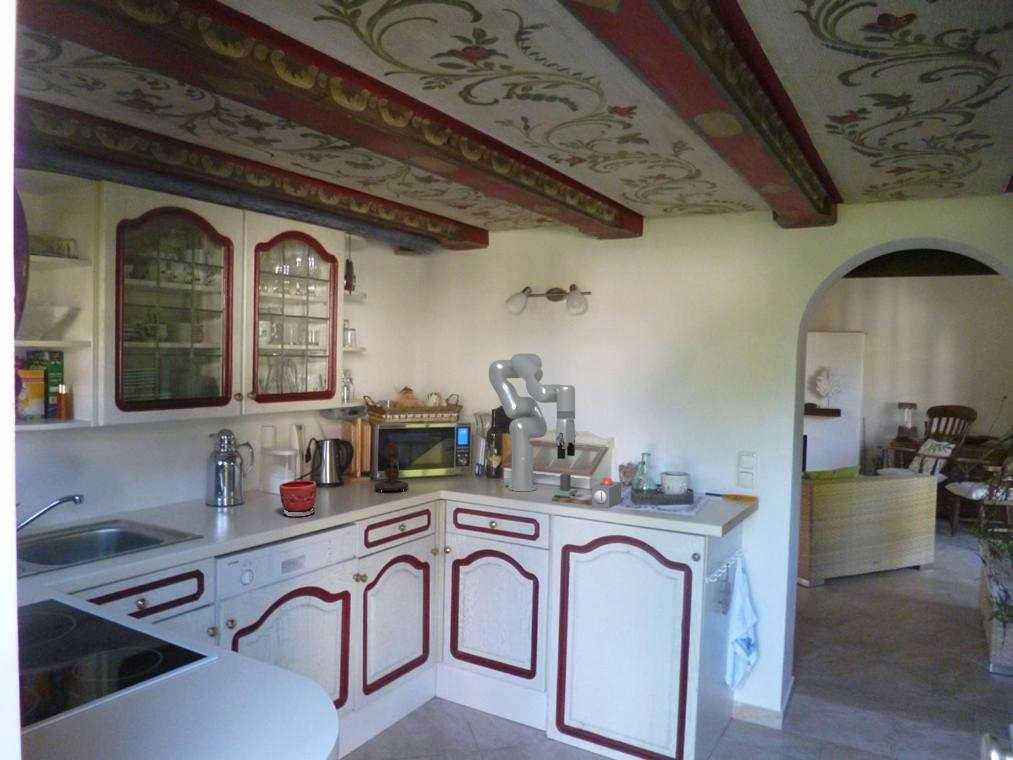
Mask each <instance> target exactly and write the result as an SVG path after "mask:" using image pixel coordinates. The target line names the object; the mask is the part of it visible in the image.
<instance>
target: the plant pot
mask: <svg viewBox="0 0 1013 760" xmlns="http://www.w3.org/2000/svg"><path fill="white" fill-rule="evenodd" d="M279 495H280V502H281V505H282V506H283V508H284V509H285V510H286V511H288V512H303V513H307V511H308V512H312V511H314V510H315V511H316V508H315V507H314V505H315V503H316V499H317V482H316V481H314V480H307V479H306V480H305V479H302V480H291V481H286V482H283V483H281V484H279ZM312 508H313V510H312V511H310V510H311V509H312ZM284 509H283V510H284Z"/></svg>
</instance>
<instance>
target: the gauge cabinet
mask: <svg viewBox="0 0 1013 760" xmlns="http://www.w3.org/2000/svg"><path fill="white" fill-rule="evenodd" d="M591 495H592V505H591V506H592V508H600V509H601V508H603V509H610V508H612V507H614V506H617V505H618V504H620V503H622V482H621V481H612V482H611V486H608V485H602V481H601V482H599V483H597V484H594V485H592V487H591Z"/></svg>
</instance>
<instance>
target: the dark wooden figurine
mask: <svg viewBox="0 0 1013 760" xmlns="http://www.w3.org/2000/svg"><path fill="white" fill-rule="evenodd" d="M384 447H385V448H384V455H385V456H386V458H387V459H388V463H389V465H387V466H386V467H385V468H384V474H385V477H386V478H387V480H383V481H382V480H381V481H378V482H377V483H375V484H374V487H375V488H376V489H375V488H374V489H375V490H378V489H381V490H383V491H399V490H398V489H401V490H402V489H404V488H406V489H408V488H409V487H408V486H409V483H408V482H406V481H404V480H398V479H399V477H400V467H399V459H398V455H399V449H398V447H397V446H396V445H395V444H393V443H390V444H387V445H386V446H384ZM395 461H396V466H397V467H396V466H395ZM407 487H408V488H407Z"/></svg>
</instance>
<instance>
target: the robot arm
mask: <svg viewBox="0 0 1013 760" xmlns="http://www.w3.org/2000/svg"><path fill="white" fill-rule="evenodd" d="M542 363H543V362H542V359H541V357H540V356H539V355H538V354H536V353H517V354H516V353H515V354H514V355H512V356H511V358H510V359H499V360H495V361H493V362H492V363H490V365H489V368H488V378H489V383H490V384H491V386H492V388H493V389H494V391H495V393H496V394H497V397H498V398H499V401H500V404H501V406H502V408H503V409H502V410H503V411H504V413H505V415H506V416H507V418H509V419H513V420H511V422H510V423H509V428H508V429H509V435H510V444H511V477H510V478H504V484H509V485H507V489H508V490H509V491H512V490H513V492H532V491H536V490H537V486H536V485H535V484H534V448H533V445H532V442H531V441H530V440H532V439H541V438H543V437H545V435H546V434H547V431H548V426H547V422H546V419H545V417H544V415H543V413H542V411H541V408H540V407H539V404H538V403H541V404H551V403H553V404H554V403H556V425H555V443H556V450H557V452H556V453H557V457H556V458H557V459H559V460H560V459H561V460H565V459H566V455H567V456H568V457H575V455H576V453H575V452H576V438H577V437H576V426H575V425H576V424H575V419H576V388H575V386H573V385H569V384H567V385H565V384H564V385H563V384H555V383H554V384H542V383H540V381H541V380H542V378H543V376H544V372H543V369H542V366H543V365H542ZM507 379H523V381H525V388H526V391H527V393H528V395H529V396H520V395H519V394H518V392H517V389H516V387H515V386H514V385H513V384H512V383H511V382H510V381H509V380H507ZM566 445H567V447H566V448H567V449H565V446H566ZM566 451H567V452H566Z"/></svg>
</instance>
